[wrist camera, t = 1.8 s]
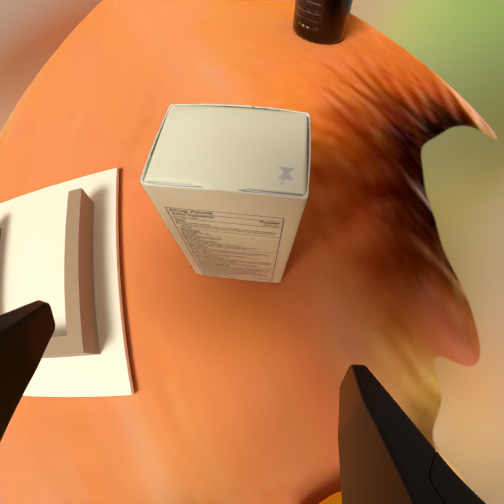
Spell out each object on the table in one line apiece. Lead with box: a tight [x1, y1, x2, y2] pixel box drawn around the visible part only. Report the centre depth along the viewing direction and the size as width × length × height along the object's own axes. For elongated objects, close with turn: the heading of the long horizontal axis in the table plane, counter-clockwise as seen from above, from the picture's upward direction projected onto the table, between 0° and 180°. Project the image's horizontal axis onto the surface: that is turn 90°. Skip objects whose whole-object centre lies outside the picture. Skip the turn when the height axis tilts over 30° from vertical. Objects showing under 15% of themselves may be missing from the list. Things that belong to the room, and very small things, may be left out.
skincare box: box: [140, 104, 311, 283], centre depth 17 cm, size 6×4×12 cm
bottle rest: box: [0, 168, 135, 397], centre depth 20 cm, size 18×16×3 cm
